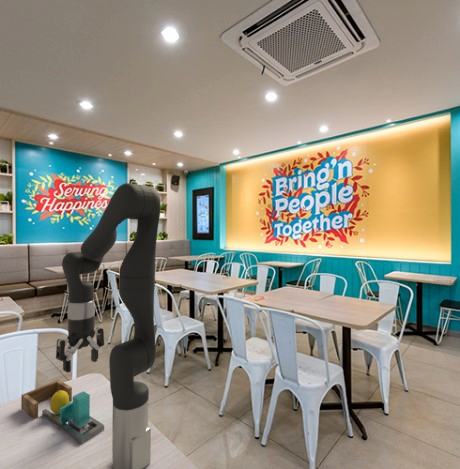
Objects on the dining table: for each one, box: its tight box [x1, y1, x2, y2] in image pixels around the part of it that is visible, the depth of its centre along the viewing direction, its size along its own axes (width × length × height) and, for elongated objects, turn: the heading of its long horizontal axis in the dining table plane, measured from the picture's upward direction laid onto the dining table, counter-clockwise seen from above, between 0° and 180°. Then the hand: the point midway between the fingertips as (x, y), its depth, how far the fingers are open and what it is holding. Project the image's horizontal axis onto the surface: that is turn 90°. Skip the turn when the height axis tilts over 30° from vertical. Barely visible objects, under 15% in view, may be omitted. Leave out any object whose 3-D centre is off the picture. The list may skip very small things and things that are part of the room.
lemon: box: [49, 390, 70, 415], centre depth 99 cm, size 6×6×8 cm
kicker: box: [59, 391, 94, 435], centre depth 92 cm, size 8×8×10 cm
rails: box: [41, 408, 105, 445], centre depth 95 cm, size 24×7×2 cm, turn 57°
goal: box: [20, 379, 73, 420], centre depth 103 cm, size 9×12×5 cm
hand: (81, 366), depth 91 cm, fingers open, 8 cm apart
